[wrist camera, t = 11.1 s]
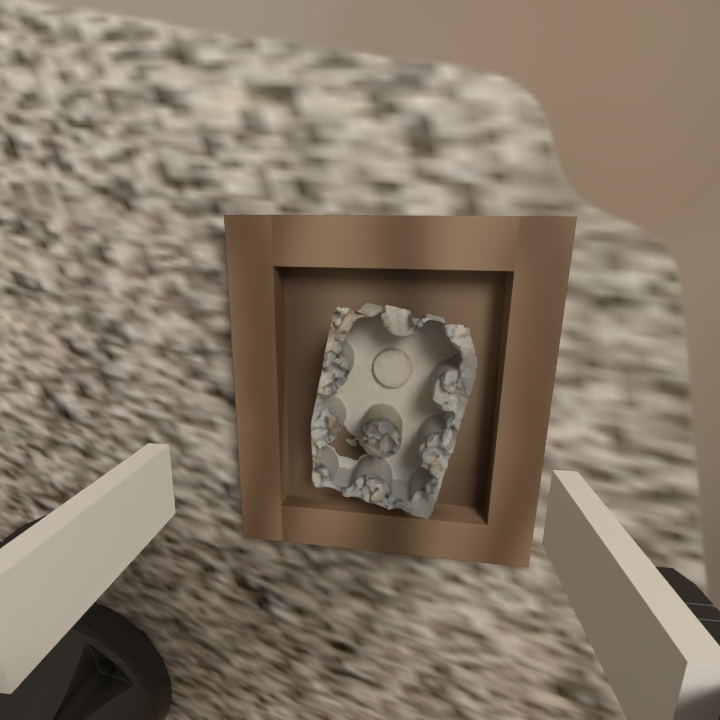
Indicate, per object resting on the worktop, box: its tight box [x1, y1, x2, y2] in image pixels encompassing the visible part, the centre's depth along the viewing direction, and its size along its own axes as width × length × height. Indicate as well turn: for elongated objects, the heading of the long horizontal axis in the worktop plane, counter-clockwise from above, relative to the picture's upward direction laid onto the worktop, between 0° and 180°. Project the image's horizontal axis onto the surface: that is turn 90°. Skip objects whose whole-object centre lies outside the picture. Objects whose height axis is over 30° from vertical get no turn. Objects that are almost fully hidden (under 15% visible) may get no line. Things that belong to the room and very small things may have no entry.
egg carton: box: [311, 303, 477, 519], centre depth 22 cm, size 11×8×4 cm
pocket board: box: [224, 215, 577, 568], centre depth 24 cm, size 17×19×2 cm
